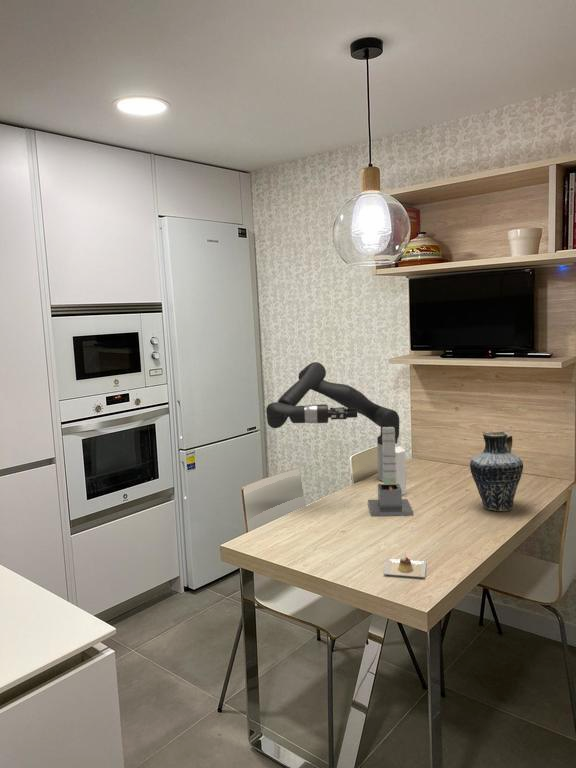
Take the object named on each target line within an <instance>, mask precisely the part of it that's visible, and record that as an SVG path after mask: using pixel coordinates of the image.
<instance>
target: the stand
mask: <svg viewBox="0 0 576 768" xmlns="http://www.w3.org/2000/svg"><path fill="white" fill-rule="evenodd" d="M402 496H403V495H402V490H401V488H400V485H399V484H393V485H384V483H383V484H382V483H380V484H377V499H367V505H368V508H369V513H370V517H402V515H404V516H403V517H406V516H405V515H413V516H414V510H413V507H412V506H411V504H410V501H409V499H407V498H403V497H402Z"/></svg>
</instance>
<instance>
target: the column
mask: <svg viewBox="0 0 576 768" xmlns="http://www.w3.org/2000/svg"><path fill="white" fill-rule="evenodd" d="M395 442H396V440H395V428H394V427H382V443H383V453H382V455H383V460H382V462H383V468H382V469H383V481H382V483H383V484H384V485H393V484H396V469H395V465H396V462H395V457H396V455H395Z"/></svg>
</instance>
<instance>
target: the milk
mask: <svg viewBox="0 0 576 768" xmlns="http://www.w3.org/2000/svg"><path fill="white" fill-rule="evenodd" d="M406 454H407V453H406V450H405V449H404V448H403V447H402V446H401V443H400V442H397V443H396V444H395V455H396V457H395V462H396V465H395V469H396V484H399V485H400V488H401V490H402V496H404V495H406V494H407V476H406V475H407V472H406V471H407V467H406V459H407V458H406ZM403 494H404V495H403Z"/></svg>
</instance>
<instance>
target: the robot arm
mask: <svg viewBox="0 0 576 768" xmlns="http://www.w3.org/2000/svg"><path fill="white" fill-rule="evenodd" d="M326 374H327V371H326V368H325V366H324V365H323V364H322V363H320V362H318V361H317V362H316V361H314V362H310V363H309V364H308V365H306V366H305V367H304V368H302V369H301V371H300V372H299V374H298V376H297V377H298V380H297V381H296V382H295V383H293V385H292V386H291V387H289V388H288V389H287V390H286V391H285V392H284V393H283V394H282V395H281V396H280V397H279V398H278V400H277V401H276V402H271V403H269V404H268V405H267V406H266V410H265V411H266V412H265V413H266V420H267V424H268V426H269V427H270V428H272V429H278V428H281V427H282V426H284V425H285V424H286V422H287V420H288V419H290V422H291V423H292V424H328V423H329V418H330V420H347V419H348V418H349V419H350V418H351V419H352V418H353V419H354V418H358V414H359V415H362V416H364V417H365V418H367V419H369V420H370V421H372V422H373V423H374V424H375V425H377V426H378V427H380V435H379V436H377V439H376V443H377V444H376V445H377V446H376V447H377V480H378V479H379V480H378V481H380V480H381V482H383V469H382V468H383V462H382V460H383V455H382V453H383V443H382V427H394V428H395V440H396V442H395V444H396V443H398V440H399V437H400V417H399V413H398V412H397V411H396V410H394V409H391V408H387V407H383V406H381V405H379V404H377V403H375V402H372V401H371V399H368V397H367V396H366V395H365V394H363V393H362V392H361V391H359V390H357V389H356V388H353V386H350V385H348V384H344V383H338V382H330V381H328V380H325V378H326ZM310 390H311V391H314V392H316V393H319V394H321V395H323V396H325V397H326V398H329V399H331V400H333V401H335V402H336V403H338V404H340V405H341V407H330V408H328V407H329V404H326V403H325V404H323V403H322V404H308V405H307V404H306V405H298V404H299V403H300V401H302V399H303V398H305V395H307V393H308V392H310ZM342 406H343V407H342Z"/></svg>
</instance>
